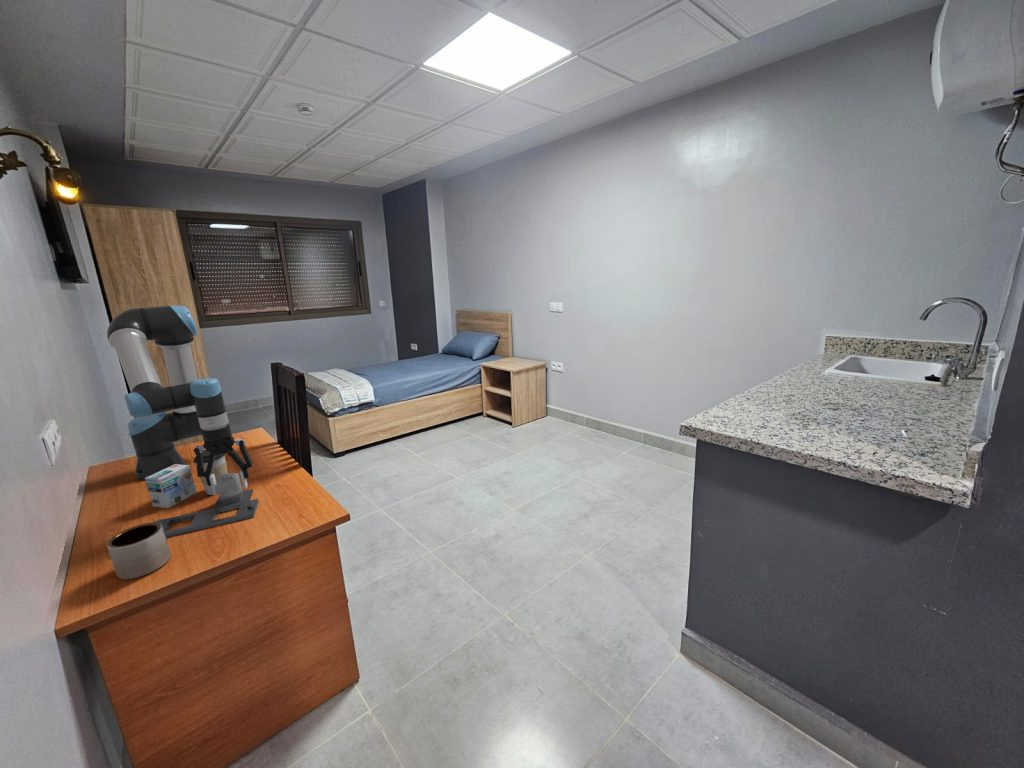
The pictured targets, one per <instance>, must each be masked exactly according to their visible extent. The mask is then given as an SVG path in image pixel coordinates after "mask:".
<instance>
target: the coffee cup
mask: <svg viewBox="0 0 1024 768" xmlns="http://www.w3.org/2000/svg"><path fill="white" fill-rule="evenodd" d="M225 455H226V454H219V455H216V456H215V460H214V463H213V467H212V471H211V474H214V475H215V479H216V483H217V482H218V480H219V479H220V477H221V476H222V475H224V474H229V473H228V468H227V467H228V466H227V460H226V456H225ZM209 456H210V452H209V451H208V450H206V449H204V451H203V463H204V471H205V472H206V469H207V465H208V461H209ZM193 463H194V465H195V469H196V470H197V460H196V456H194V458H193ZM199 479H200V481H201V483H202V486H203V488H204V490H205V493H206V494H207V495H209V496H210V495H211V496H212V495H213V496H214V493H213V490H212V486H208V485H207V481H206V478H205V477H199ZM217 487H218V484H217ZM218 490H219V488H218ZM218 494H220V492H218V493H217V495H218Z"/></svg>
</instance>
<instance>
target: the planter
mask: <svg viewBox="0 0 1024 768" xmlns="http://www.w3.org/2000/svg"><path fill="white" fill-rule="evenodd" d="M106 547H107V550H108V554H109V556H110V559H111V562H112V565H113V569H114V571H115V574H116V576H117V578H119V579H120V580H131V579H138V578H141V577H144V576H148V575H149V574H152V573H153V572H155V571H157V570H159V569H161V568H162V567H163V566H164V565H166V563H167V562H168V561H169V560H170V558H171V557H172V556H171V555H172V554H171V549H170V546H169V543H168V540H167V537H165V534H164V531H163V528H162V525H161V524H159V523H153V522H146V523H142V524H137V525H135V526H132V527H129V528H127V529H124V530H123V531H120V532H118V533H117V534H115V535H113V536H112V537H111V538H110V539H109V540H107V543H106Z"/></svg>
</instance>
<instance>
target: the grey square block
mask: <svg viewBox="0 0 1024 768" xmlns="http://www.w3.org/2000/svg"><path fill="white" fill-rule="evenodd" d="M217 484H218V488H219V492H220V493H219V496H221V499H222V503H223V505H224V504H228V503H233V502H238V501H241V498H242V496H243V491H244V490H243V486H242V482H241V477H240V473H238V472H237V473H235V472H229V473H228V474H224V475H222V476H221V477H220V479H219V480H218V482H217Z"/></svg>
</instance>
